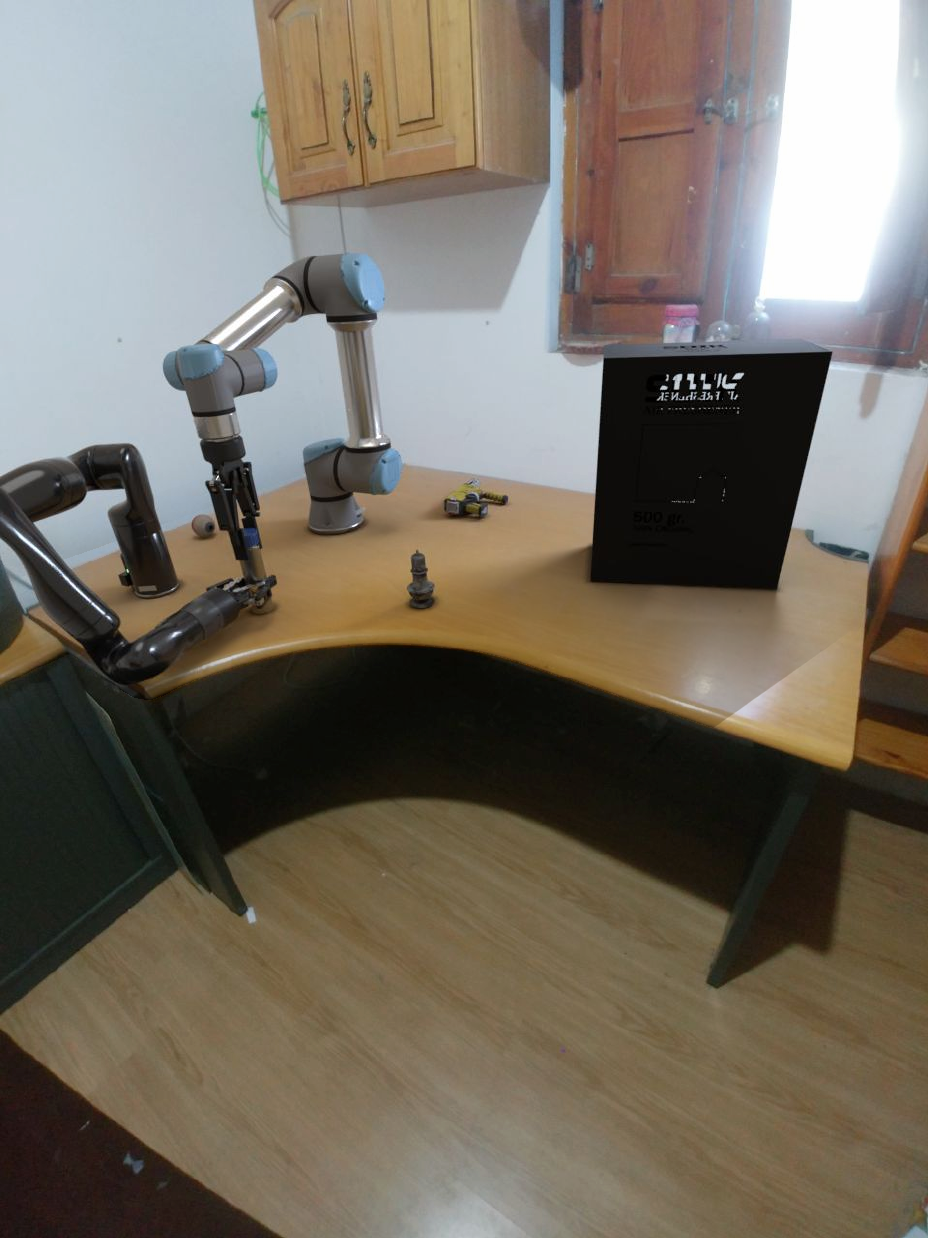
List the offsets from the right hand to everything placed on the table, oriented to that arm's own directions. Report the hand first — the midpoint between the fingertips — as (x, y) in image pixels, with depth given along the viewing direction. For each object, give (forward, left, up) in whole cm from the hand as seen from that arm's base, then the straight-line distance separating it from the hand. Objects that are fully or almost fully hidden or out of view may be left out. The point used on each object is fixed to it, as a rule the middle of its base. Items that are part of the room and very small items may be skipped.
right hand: (249, 553), depth 122 cm
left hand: (-1, +2, -7) cm, 7 cm away
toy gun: (-18, +73, -13) cm, 76 cm away
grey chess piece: (+21, +27, -13) cm, 36 cm away
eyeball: (-52, +3, -13) cm, 54 cm away
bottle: (0, 0, -13) cm, 13 cm away
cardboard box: (+45, +80, -13) cm, 93 cm away
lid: (0, 0, +4) cm, 4 cm away
